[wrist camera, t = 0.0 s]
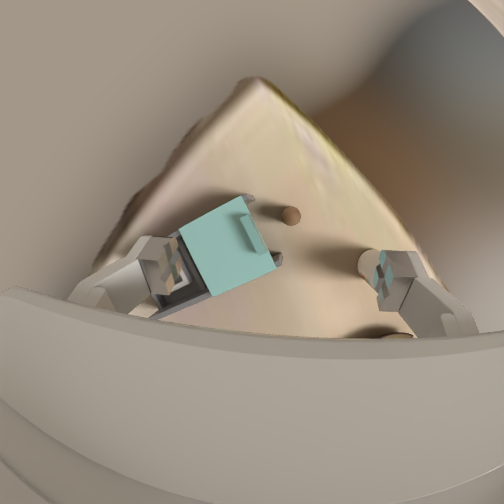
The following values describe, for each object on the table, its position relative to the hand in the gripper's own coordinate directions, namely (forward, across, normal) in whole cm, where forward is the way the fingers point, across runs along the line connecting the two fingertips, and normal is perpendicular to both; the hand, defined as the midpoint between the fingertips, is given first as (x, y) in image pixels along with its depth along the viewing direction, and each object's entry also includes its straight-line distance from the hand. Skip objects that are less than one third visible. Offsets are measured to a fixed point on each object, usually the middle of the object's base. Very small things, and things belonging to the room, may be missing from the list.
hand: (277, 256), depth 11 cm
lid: (+36, -13, -27) cm, 47 cm away
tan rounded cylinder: (+48, 0, -26) cm, 54 cm away
